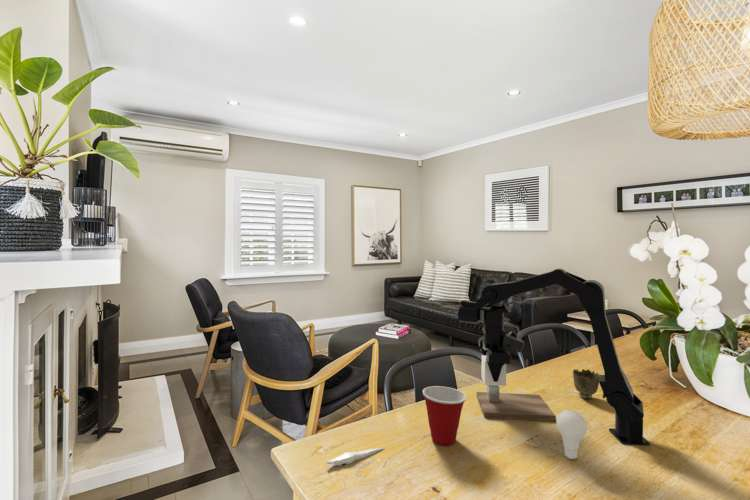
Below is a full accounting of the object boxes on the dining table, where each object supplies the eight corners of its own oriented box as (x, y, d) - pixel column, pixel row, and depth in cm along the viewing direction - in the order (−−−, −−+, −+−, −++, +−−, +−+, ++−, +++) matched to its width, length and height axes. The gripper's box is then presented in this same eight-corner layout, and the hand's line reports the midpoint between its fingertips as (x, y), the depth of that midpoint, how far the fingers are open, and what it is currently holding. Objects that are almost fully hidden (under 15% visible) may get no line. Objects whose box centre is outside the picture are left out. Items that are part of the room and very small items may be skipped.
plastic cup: (476, 443, 91) (476, 394, 91) (442, 457, 86) (443, 405, 85) (445, 424, 101) (445, 380, 100) (413, 436, 95) (413, 389, 95)
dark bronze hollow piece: (592, 393, 121) (593, 368, 121) (604, 403, 114) (604, 377, 114) (568, 392, 122) (568, 368, 122) (578, 402, 114) (578, 376, 114)
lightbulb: (559, 448, 89) (560, 402, 89) (588, 457, 85) (589, 409, 85) (552, 459, 85) (553, 411, 84) (583, 470, 81) (583, 420, 80)
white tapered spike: (329, 471, 80) (329, 462, 80) (324, 465, 83) (324, 457, 83) (387, 454, 88) (387, 446, 88) (381, 449, 90) (381, 441, 90)
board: (555, 421, 103) (555, 415, 103) (484, 417, 105) (484, 412, 105) (539, 399, 116) (539, 394, 116) (476, 396, 119) (476, 392, 119)
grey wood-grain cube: (499, 402, 111) (499, 387, 111) (488, 401, 111) (489, 386, 111) (497, 398, 114) (497, 383, 114) (487, 397, 114) (487, 383, 114)
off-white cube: (506, 385, 109) (506, 361, 109) (484, 384, 110) (485, 361, 110) (501, 378, 115) (501, 355, 115) (481, 377, 116) (481, 354, 116)
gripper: (531, 334, 102) (530, 391, 102) (513, 319, 120) (513, 368, 121) (489, 333, 103) (488, 389, 104) (478, 319, 122) (477, 366, 122)
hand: (493, 377), depth 112 cm, fingers closed on off-white cube, 6 cm apart
